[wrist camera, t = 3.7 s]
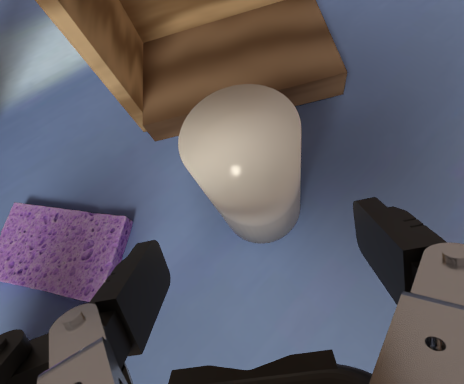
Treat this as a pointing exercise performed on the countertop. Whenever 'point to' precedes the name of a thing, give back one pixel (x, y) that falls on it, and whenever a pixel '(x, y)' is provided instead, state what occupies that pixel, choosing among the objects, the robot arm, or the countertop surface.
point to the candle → (247, 158)
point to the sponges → (61, 249)
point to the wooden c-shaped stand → (199, 51)
